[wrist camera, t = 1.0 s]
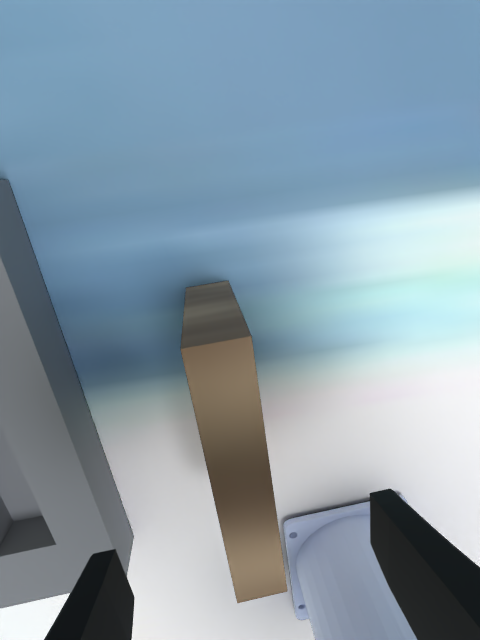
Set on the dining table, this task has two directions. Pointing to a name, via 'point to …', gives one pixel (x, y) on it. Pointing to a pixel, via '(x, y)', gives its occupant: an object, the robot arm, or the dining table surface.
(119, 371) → the dining table surface
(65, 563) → the panel with rectangular hole
